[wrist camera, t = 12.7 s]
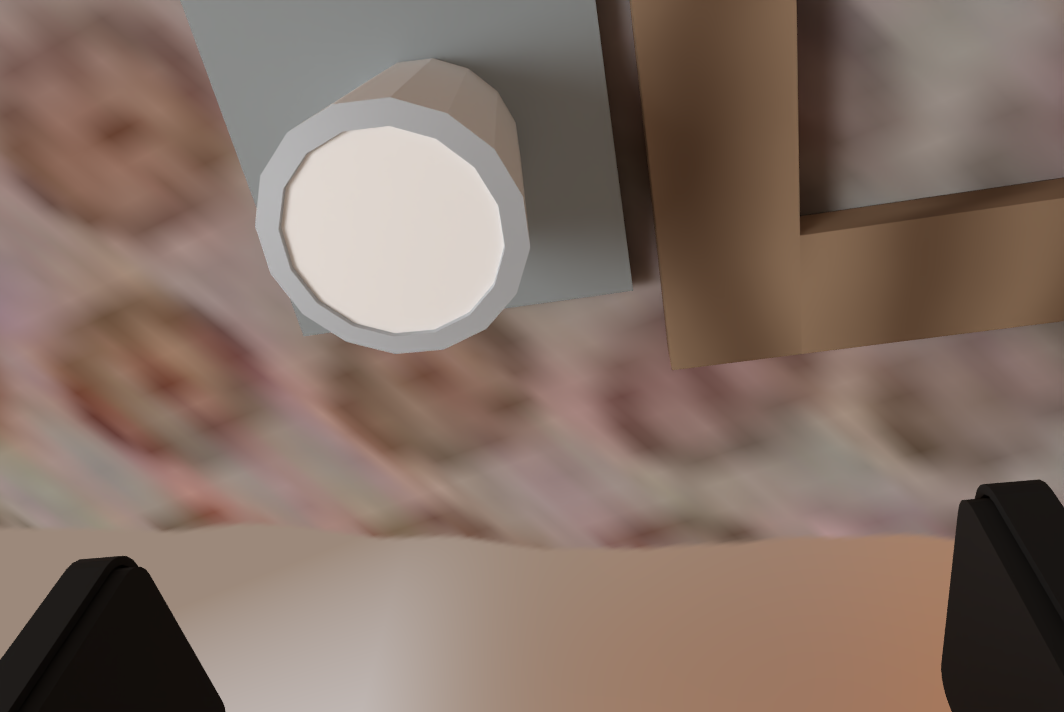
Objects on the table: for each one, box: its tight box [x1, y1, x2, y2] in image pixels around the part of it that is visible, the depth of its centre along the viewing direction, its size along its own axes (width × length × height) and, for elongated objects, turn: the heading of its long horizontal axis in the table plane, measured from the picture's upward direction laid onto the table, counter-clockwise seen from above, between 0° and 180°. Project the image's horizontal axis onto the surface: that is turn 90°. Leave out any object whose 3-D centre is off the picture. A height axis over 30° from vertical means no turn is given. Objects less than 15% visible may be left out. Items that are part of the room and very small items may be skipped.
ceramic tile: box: [180, 0, 633, 336], centre depth 27 cm, size 12×12×1 cm
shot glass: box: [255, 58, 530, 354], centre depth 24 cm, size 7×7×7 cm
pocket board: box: [630, 0, 1064, 370], centre depth 25 cm, size 18×18×2 cm
